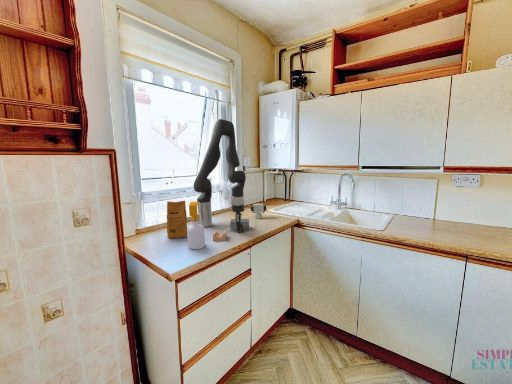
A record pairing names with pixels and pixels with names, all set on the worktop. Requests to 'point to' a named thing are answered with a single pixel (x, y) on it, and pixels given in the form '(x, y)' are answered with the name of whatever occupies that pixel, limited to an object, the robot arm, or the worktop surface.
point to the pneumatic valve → (258, 210)
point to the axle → (241, 229)
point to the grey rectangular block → (243, 221)
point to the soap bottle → (195, 229)
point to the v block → (219, 236)
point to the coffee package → (176, 219)
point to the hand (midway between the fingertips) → (238, 230)
